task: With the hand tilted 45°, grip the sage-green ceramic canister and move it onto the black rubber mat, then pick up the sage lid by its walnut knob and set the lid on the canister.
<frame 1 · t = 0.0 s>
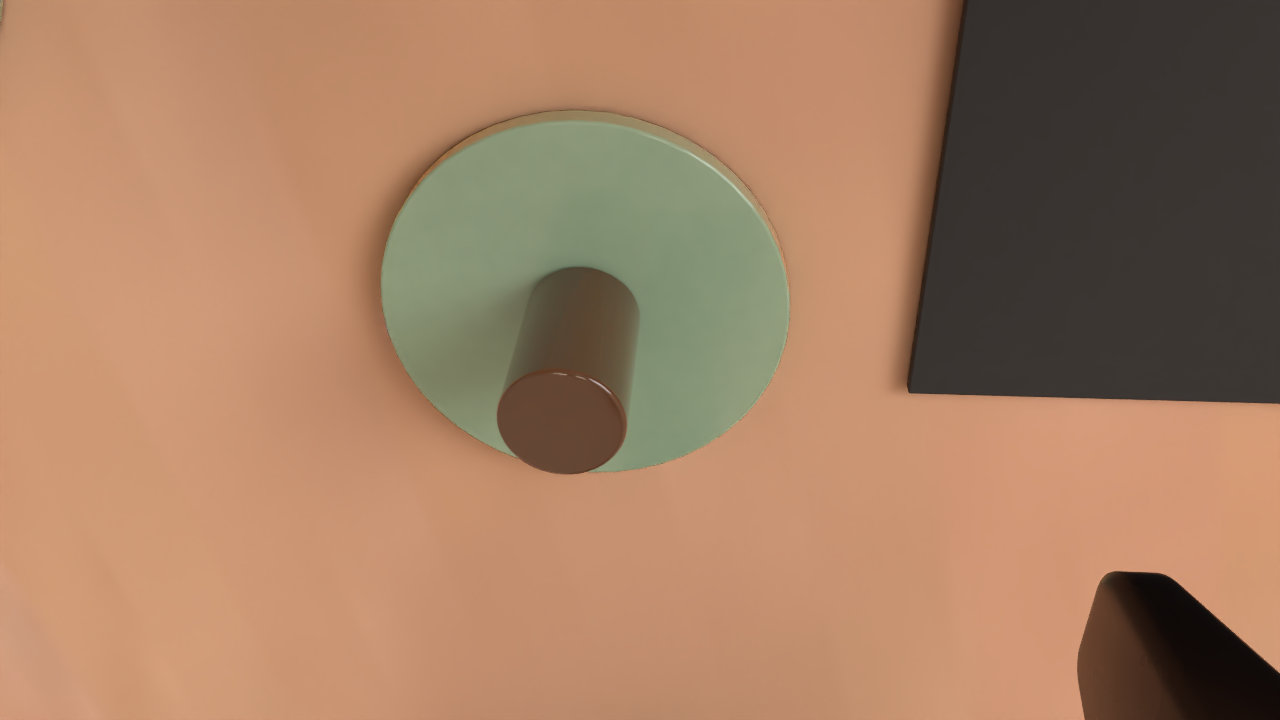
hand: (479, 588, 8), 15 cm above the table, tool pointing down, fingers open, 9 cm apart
lid: (586, 300, 24), on the table
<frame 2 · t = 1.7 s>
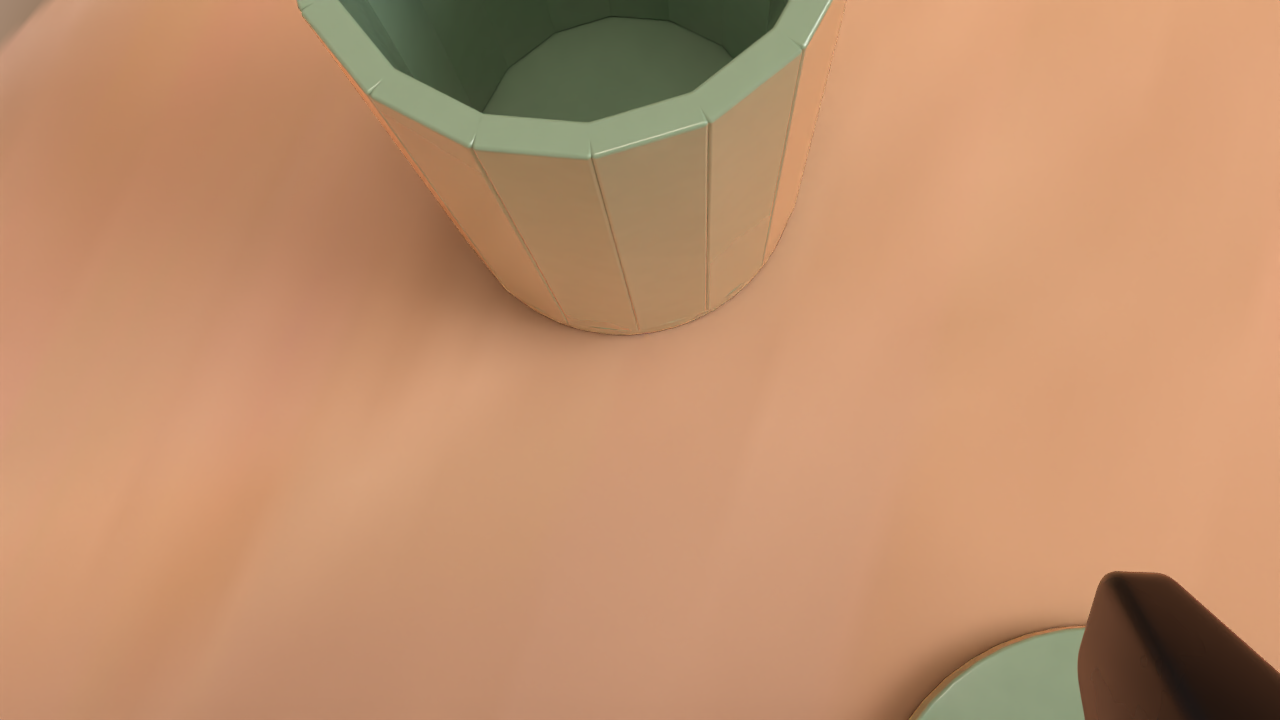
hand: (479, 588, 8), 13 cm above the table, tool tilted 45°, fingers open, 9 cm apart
canister: (625, 169, 23), on the table
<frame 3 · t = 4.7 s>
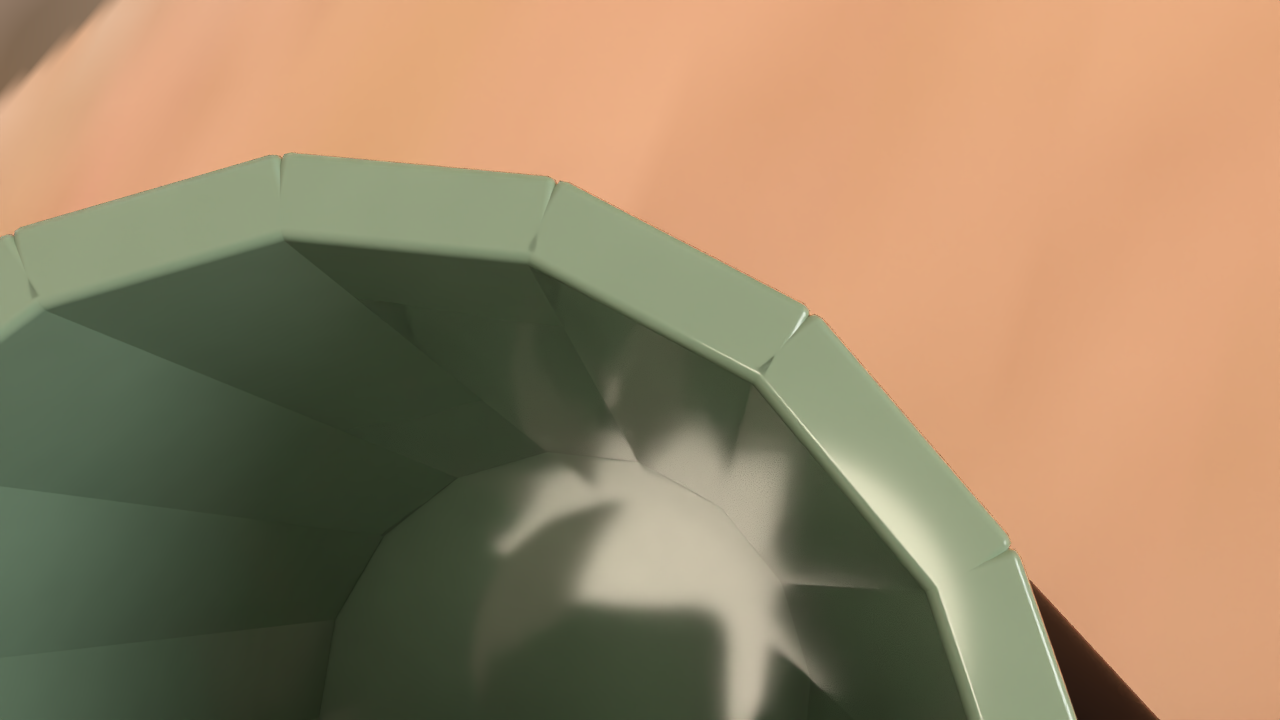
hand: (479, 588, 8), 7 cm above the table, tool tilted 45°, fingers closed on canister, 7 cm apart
canister: (569, 692, 15), on the table, touching gripper
when the fingers open (7 cm above the table, at t = 13.8 s): canister stays where it is, resting on mat.
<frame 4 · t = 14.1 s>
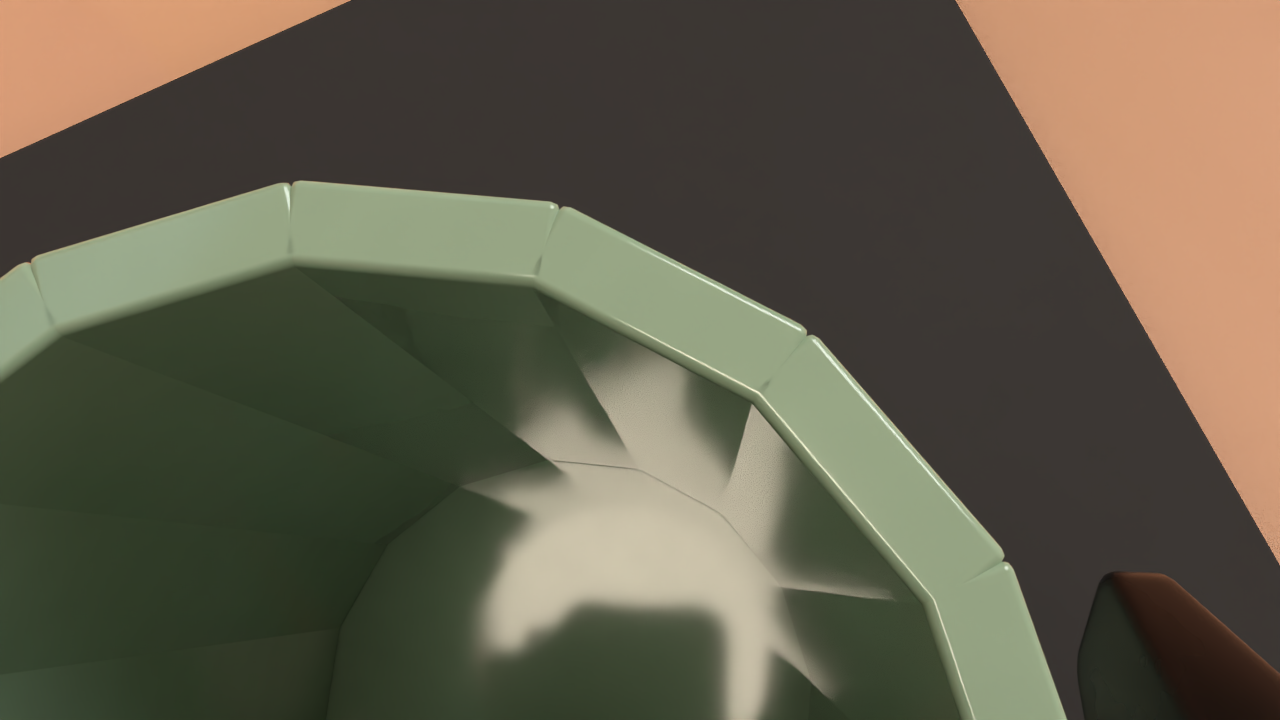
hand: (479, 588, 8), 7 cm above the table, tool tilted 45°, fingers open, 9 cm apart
canister: (572, 697, 15), resting on mat
mat: (561, 657, 15), on the table
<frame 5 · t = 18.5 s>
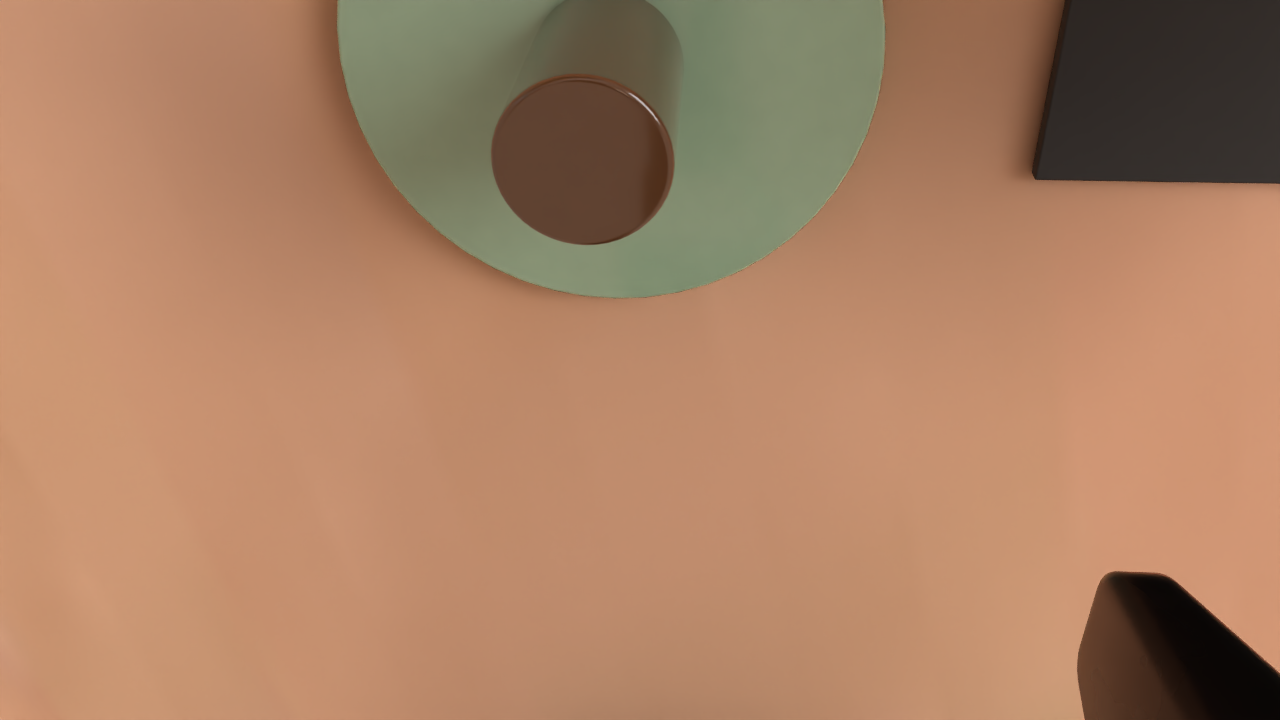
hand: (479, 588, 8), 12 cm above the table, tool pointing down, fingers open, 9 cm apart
lid: (611, 52, 18), on the table
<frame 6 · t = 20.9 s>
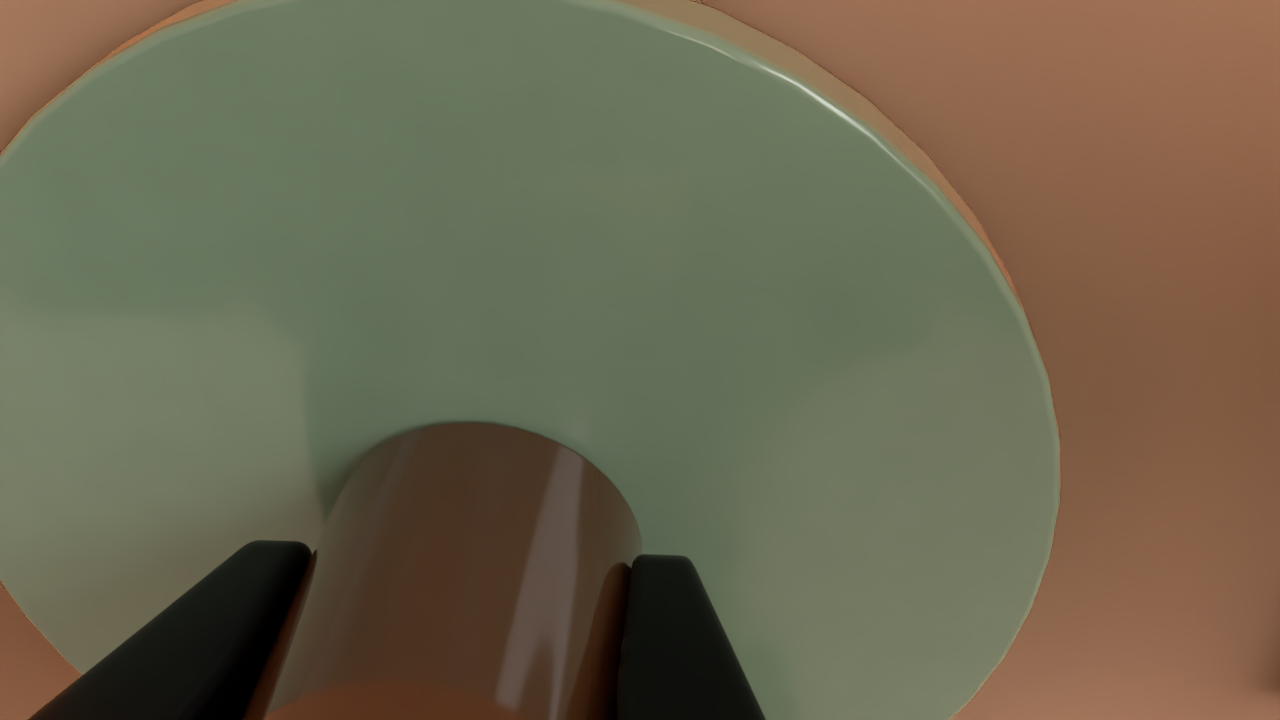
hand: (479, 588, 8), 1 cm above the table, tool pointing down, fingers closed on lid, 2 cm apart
lid: (502, 488, 9), on the table, touching gripper
when the fingers open (11 cm above the table, at t = 25.4 s): lid stays where it is, resting on canister.
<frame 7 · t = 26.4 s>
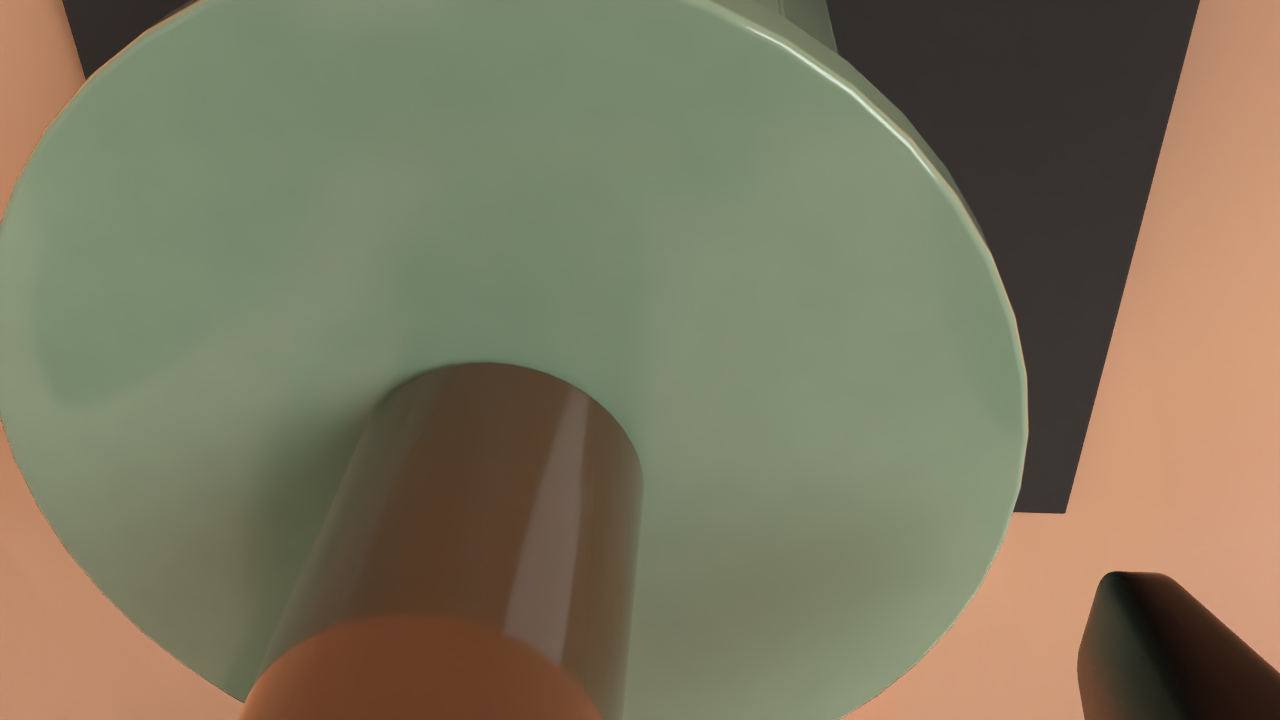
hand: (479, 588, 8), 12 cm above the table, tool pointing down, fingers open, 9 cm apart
canister: (611, 55, 18), resting on mat, touching lid
mat: (614, 17, 18), on the table
lid: (513, 431, 10), point 10 cm above the table, touching canister
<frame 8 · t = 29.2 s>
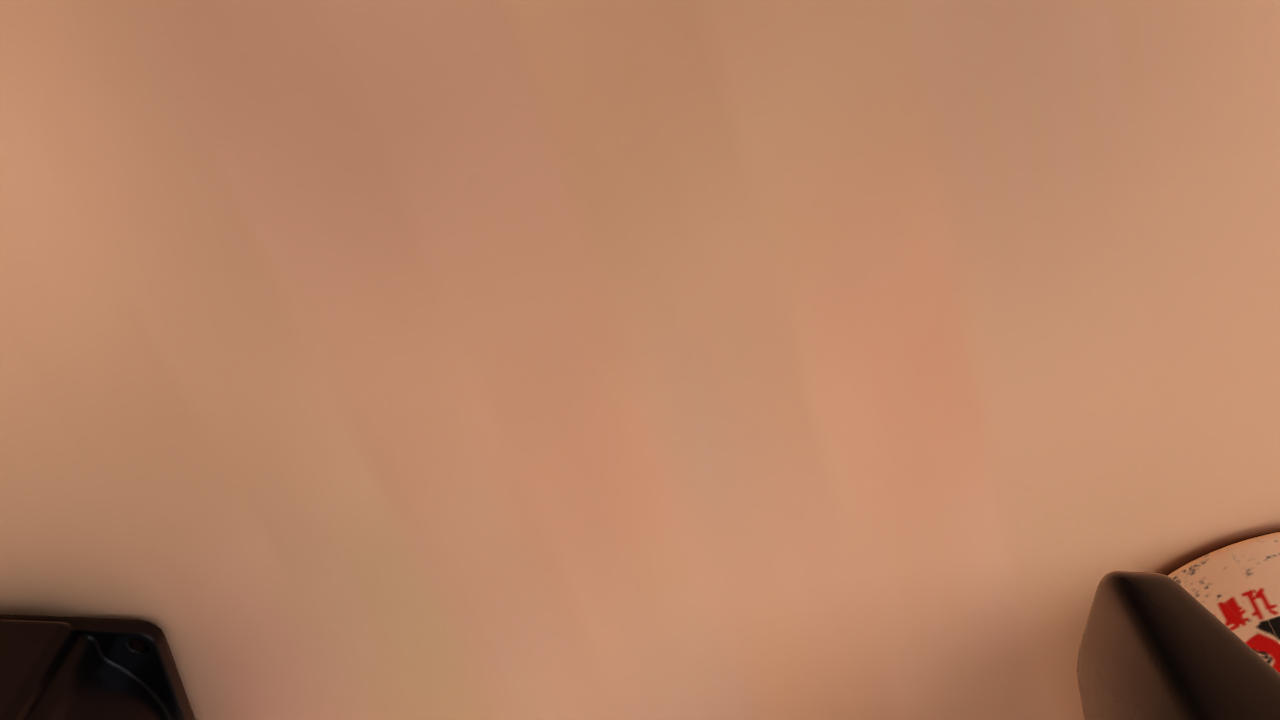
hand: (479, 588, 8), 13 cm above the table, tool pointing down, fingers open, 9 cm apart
teacup with lid: (1252, 689, 27), on the table
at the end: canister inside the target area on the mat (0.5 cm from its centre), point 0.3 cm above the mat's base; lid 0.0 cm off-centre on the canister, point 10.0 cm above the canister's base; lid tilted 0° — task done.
